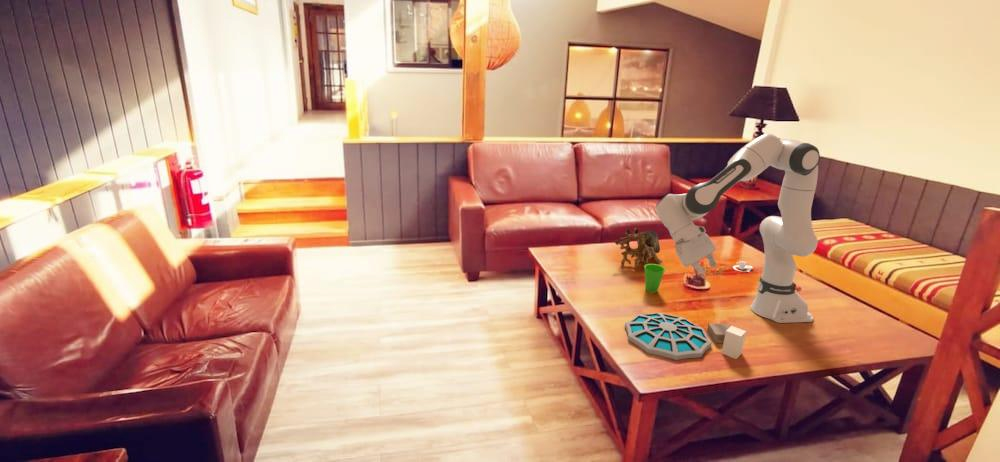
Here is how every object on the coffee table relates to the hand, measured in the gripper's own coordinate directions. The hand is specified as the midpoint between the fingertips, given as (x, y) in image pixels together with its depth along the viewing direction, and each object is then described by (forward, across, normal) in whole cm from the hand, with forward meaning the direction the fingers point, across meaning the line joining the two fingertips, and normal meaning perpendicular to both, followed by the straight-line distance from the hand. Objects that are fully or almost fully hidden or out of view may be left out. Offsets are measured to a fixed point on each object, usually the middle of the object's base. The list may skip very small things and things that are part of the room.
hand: (709, 269), depth 169 cm
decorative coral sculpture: (-18, +50, +58) cm, 79 cm away
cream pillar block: (+29, 0, +10) cm, 31 cm away
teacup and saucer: (+12, +81, +27) cm, 86 cm away
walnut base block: (+24, +8, +15) cm, 30 cm away
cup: (-3, +25, +42) cm, 49 cm away
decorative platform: (+14, -7, +26) cm, 30 cm away
